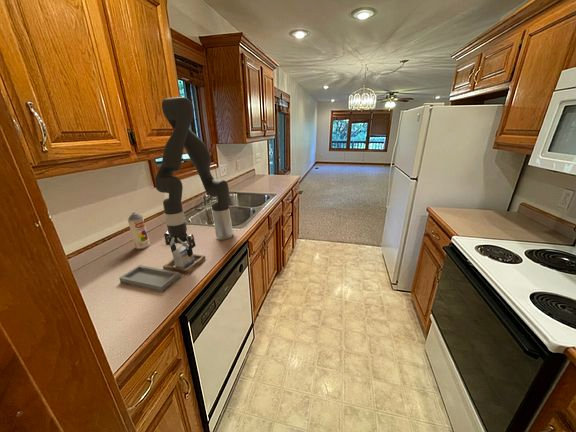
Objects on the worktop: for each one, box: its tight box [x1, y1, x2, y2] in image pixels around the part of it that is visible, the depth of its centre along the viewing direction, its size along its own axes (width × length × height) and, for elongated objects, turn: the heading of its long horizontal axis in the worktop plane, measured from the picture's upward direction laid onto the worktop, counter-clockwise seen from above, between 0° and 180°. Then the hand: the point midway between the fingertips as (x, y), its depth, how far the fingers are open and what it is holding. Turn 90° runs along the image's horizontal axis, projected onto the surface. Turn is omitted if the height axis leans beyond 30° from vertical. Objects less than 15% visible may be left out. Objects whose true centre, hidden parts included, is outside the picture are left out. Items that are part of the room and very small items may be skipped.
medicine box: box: [171, 244, 195, 269], centre depth 111 cm, size 8×4×9 cm, turn 164°
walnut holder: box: [162, 253, 206, 275], centre depth 112 cm, size 13×13×2 cm
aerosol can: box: [127, 210, 151, 250], centre depth 127 cm, size 7×7×20 cm
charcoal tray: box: [118, 264, 181, 293], centre depth 101 cm, size 10×22×2 cm, turn 72°
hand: (182, 254), depth 110 cm, fingers open, 8 cm apart
